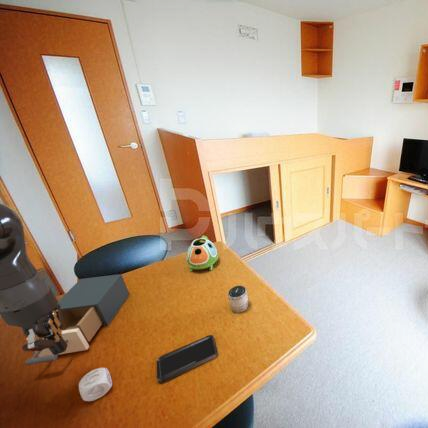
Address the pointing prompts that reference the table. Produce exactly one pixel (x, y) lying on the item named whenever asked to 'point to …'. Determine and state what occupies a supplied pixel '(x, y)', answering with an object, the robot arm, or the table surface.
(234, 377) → the table surface
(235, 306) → the camera lens
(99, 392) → the die
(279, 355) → the table surface
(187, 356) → the phone
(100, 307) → the cabinet
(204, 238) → the turtle holder
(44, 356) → the drawer
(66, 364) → the table surface
